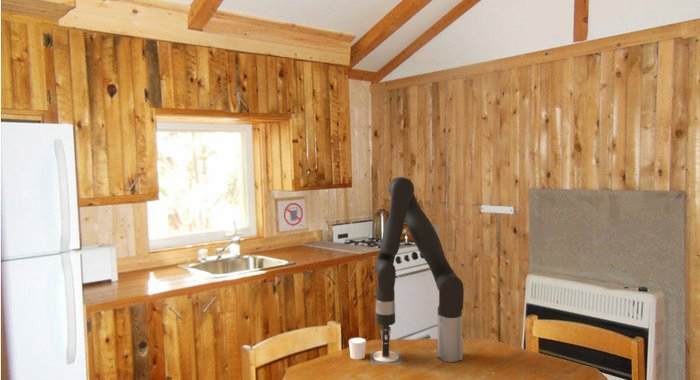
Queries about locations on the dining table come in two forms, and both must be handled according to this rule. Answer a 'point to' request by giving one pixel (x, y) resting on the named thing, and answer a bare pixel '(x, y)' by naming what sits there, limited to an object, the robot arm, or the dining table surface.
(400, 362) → the mat
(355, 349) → the white cup
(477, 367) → the dining table surface
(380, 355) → the lid
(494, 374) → the dining table surface
